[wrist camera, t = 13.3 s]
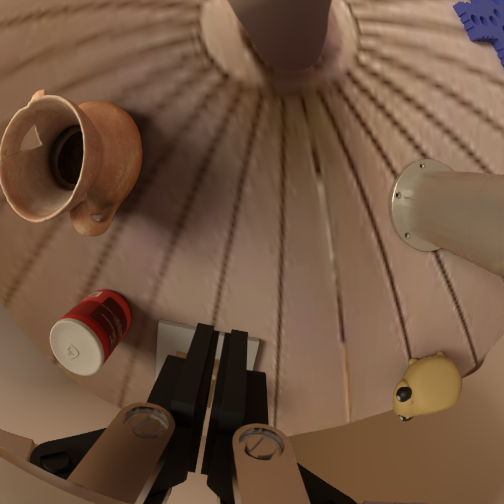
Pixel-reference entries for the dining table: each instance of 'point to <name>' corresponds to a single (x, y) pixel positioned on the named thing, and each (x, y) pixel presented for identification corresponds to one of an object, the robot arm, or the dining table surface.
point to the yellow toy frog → (427, 387)
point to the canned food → (90, 332)
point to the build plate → (180, 340)
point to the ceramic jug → (70, 161)
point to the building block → (484, 22)
